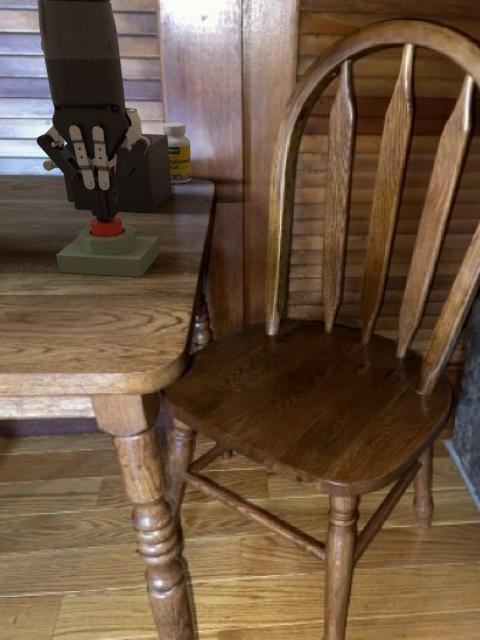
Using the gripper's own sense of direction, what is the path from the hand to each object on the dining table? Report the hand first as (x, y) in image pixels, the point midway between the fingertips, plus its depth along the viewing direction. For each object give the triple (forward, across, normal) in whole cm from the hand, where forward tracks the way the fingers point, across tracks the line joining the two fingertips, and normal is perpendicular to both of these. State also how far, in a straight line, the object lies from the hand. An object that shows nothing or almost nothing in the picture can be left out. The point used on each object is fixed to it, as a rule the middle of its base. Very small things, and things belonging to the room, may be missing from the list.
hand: (106, 219), depth 68 cm
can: (+6, +11, -41) cm, 43 cm away
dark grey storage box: (+5, +7, -27) cm, 29 cm away
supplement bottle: (+6, +2, -42) cm, 43 cm away
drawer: (+4, +11, -27) cm, 30 cm away
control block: (+6, 0, 0) cm, 6 cm away
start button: (+2, 0, 0) cm, 2 cm away
